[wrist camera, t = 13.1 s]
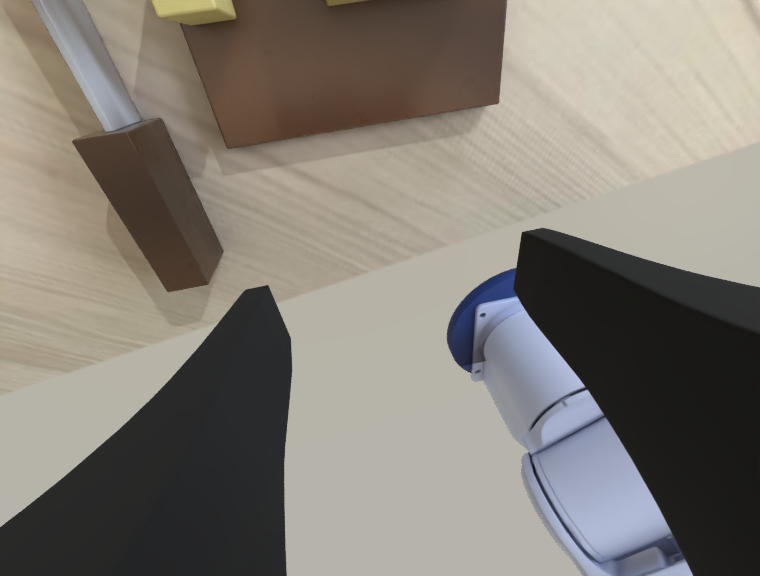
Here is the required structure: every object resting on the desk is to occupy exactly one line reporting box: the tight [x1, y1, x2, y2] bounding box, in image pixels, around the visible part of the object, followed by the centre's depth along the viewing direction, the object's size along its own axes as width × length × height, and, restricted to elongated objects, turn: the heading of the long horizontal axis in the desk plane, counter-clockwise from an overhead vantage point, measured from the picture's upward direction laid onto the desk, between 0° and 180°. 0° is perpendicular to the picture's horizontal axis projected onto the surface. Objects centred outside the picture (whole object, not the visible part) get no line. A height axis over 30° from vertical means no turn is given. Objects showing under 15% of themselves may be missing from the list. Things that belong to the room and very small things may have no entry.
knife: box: [31, 0, 223, 292], centre depth 13 cm, size 15×2×3 cm, turn 8°
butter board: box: [180, 0, 507, 149], centre depth 13 cm, size 9×13×1 cm
